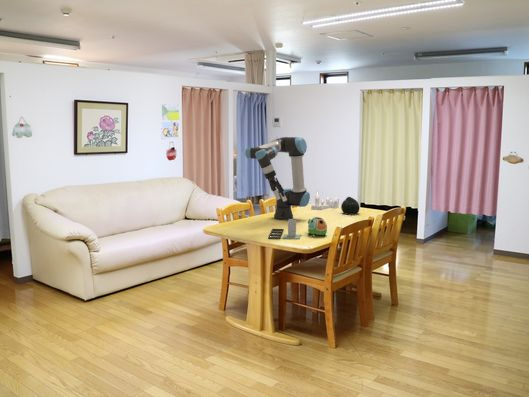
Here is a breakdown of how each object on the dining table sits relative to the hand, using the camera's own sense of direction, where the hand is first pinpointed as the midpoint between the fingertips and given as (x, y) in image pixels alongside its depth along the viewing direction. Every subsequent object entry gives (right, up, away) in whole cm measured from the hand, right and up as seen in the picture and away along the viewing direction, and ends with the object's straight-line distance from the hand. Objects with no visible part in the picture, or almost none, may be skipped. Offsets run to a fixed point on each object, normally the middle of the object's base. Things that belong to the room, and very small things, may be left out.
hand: (282, 200), depth 332 cm
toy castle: (+42, -8, +101) cm, 110 cm away
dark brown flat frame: (-4, -23, -1) cm, 24 cm away
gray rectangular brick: (+6, -24, -8) cm, 26 cm away
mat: (+6, -24, -8) cm, 27 cm away
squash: (+59, -12, +77) cm, 98 cm away
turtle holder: (+23, -24, -1) cm, 33 cm away
